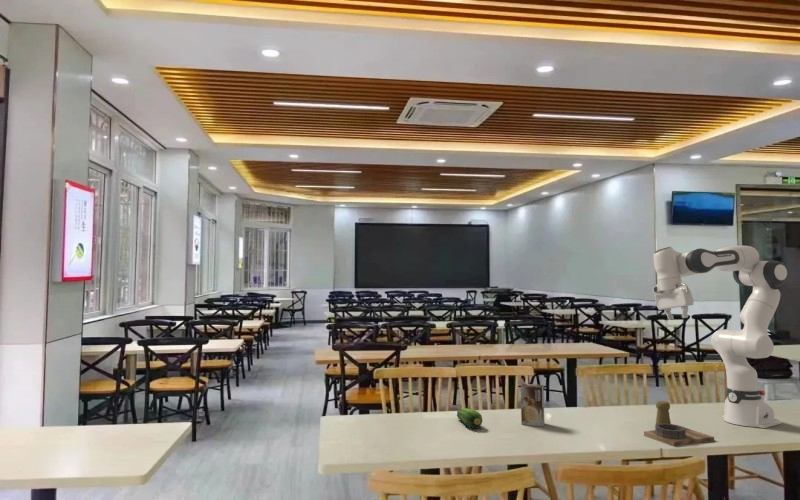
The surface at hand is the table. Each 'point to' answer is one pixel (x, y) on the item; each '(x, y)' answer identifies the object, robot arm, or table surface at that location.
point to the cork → (662, 412)
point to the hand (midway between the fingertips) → (677, 318)
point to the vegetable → (470, 417)
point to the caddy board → (687, 440)
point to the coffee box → (532, 405)
